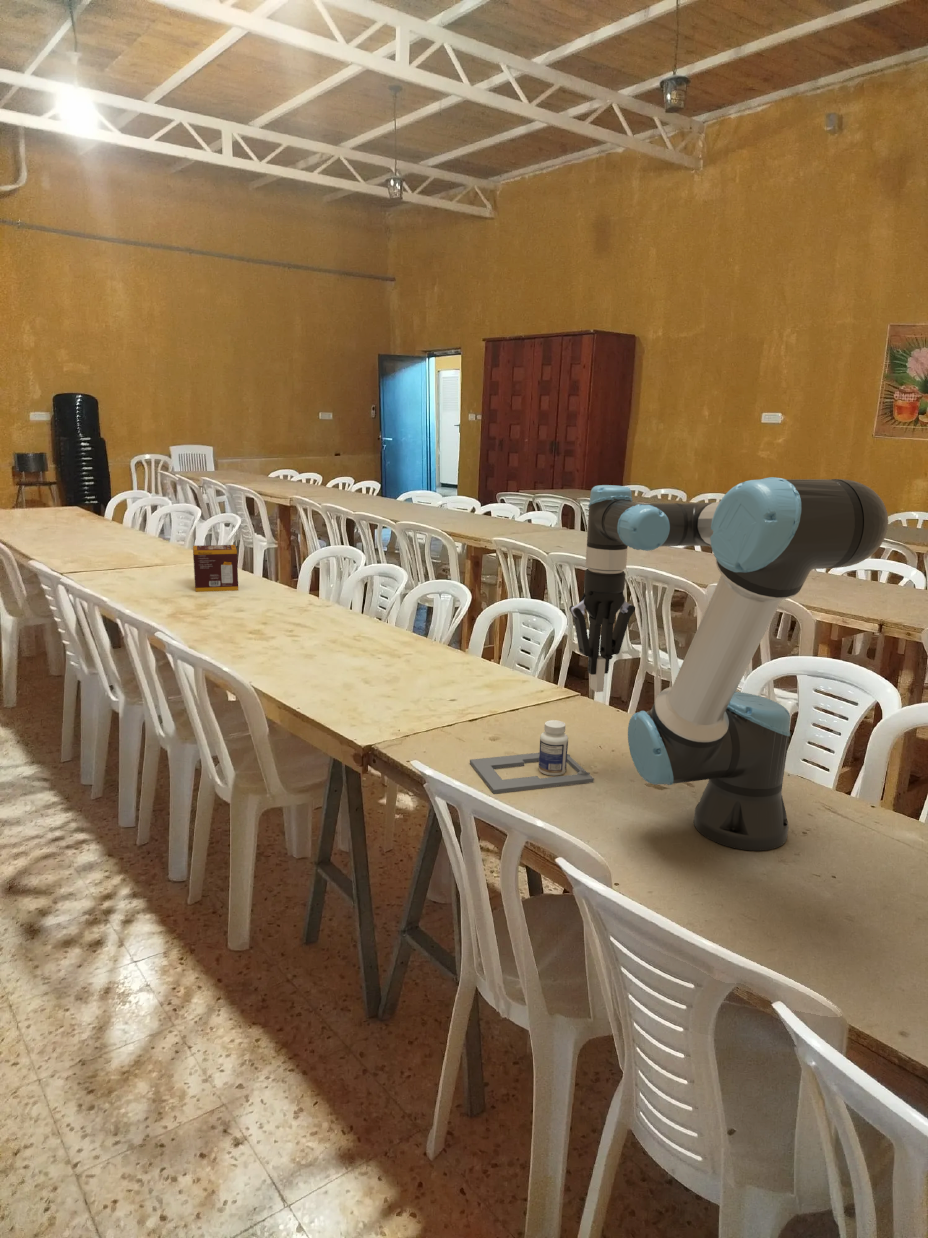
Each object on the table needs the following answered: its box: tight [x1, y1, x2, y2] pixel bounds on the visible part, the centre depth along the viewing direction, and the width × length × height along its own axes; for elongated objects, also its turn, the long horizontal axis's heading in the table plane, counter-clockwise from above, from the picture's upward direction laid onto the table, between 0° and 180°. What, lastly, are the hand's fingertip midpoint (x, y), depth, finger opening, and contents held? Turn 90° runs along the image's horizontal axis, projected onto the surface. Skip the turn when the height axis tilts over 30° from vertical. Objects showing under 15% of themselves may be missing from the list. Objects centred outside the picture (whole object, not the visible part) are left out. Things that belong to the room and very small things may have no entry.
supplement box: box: [192, 544, 239, 593], centre depth 314 cm, size 10×15×16 cm
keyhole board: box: [469, 752, 595, 795], centre depth 163 cm, size 14×20×1 cm
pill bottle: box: [538, 719, 569, 777], centre depth 163 cm, size 5×5×10 cm
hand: (596, 689), depth 164 cm, fingers closed
